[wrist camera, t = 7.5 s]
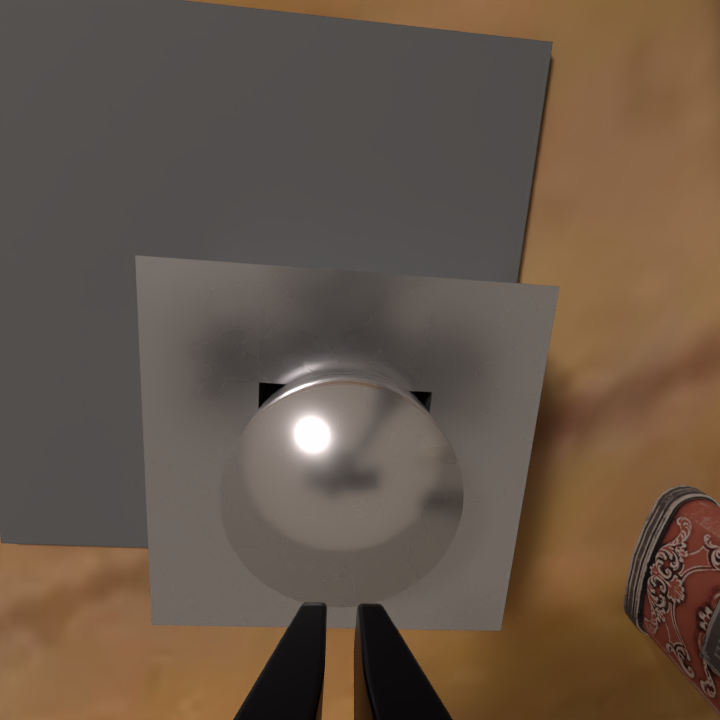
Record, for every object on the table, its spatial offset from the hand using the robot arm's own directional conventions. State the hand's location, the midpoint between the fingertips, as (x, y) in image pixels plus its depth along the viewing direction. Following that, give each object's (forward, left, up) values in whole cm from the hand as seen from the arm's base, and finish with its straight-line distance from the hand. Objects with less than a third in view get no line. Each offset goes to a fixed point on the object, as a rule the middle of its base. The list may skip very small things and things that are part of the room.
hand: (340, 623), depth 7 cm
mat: (+4, -4, -11) cm, 12 cm away
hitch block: (0, 0, -11) cm, 11 cm away
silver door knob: (0, 0, -10) cm, 10 cm away
